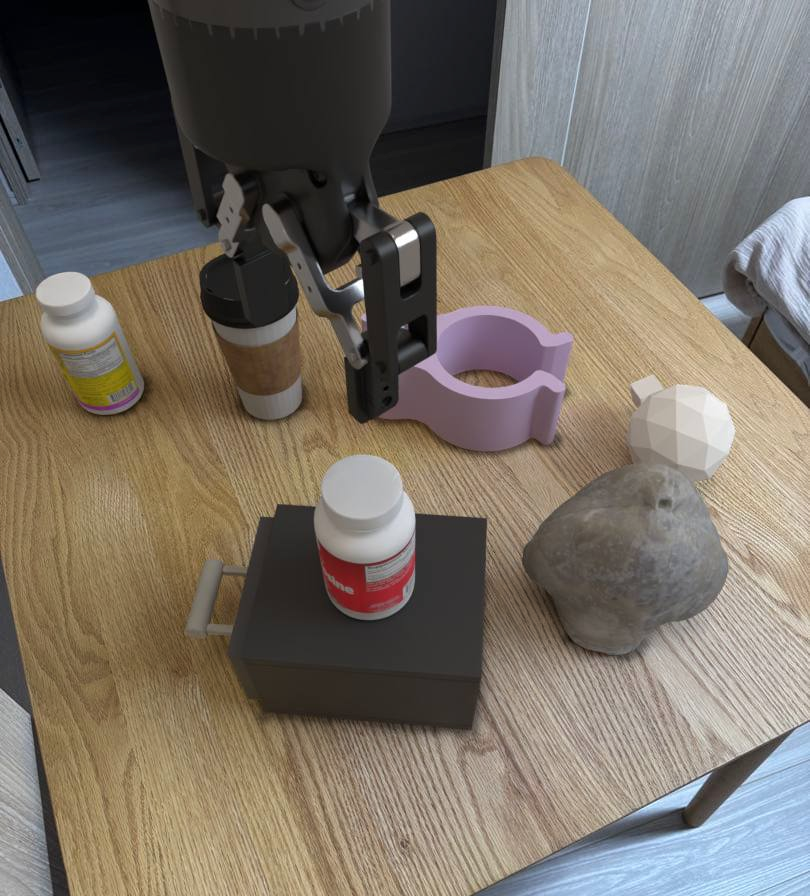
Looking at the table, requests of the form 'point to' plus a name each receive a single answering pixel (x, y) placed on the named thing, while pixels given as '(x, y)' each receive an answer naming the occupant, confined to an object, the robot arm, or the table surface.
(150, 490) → the table surface
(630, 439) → the perfume bottle
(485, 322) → the clip
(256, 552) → the dark brown drawer
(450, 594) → the dark grey drawer box
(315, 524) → the pill bottle
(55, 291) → the supplement bottle
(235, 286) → the coffee cup
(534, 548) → the decorative stone
